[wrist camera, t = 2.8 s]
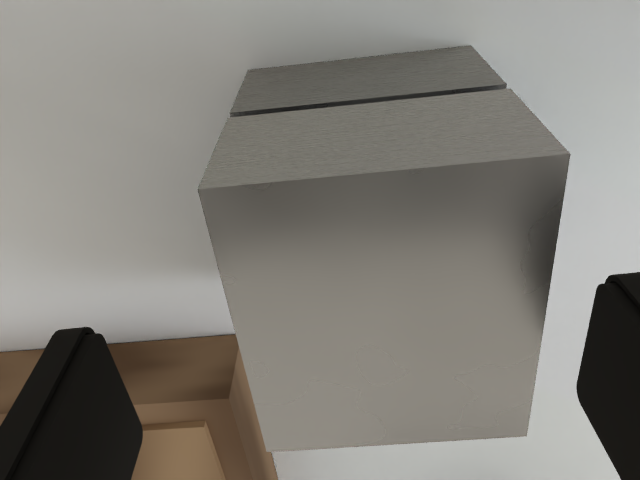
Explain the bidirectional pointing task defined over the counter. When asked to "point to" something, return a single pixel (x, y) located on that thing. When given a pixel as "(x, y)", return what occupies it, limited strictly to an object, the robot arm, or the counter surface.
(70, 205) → the counter surface
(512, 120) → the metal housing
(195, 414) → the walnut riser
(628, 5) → the counter surface
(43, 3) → the counter surface
